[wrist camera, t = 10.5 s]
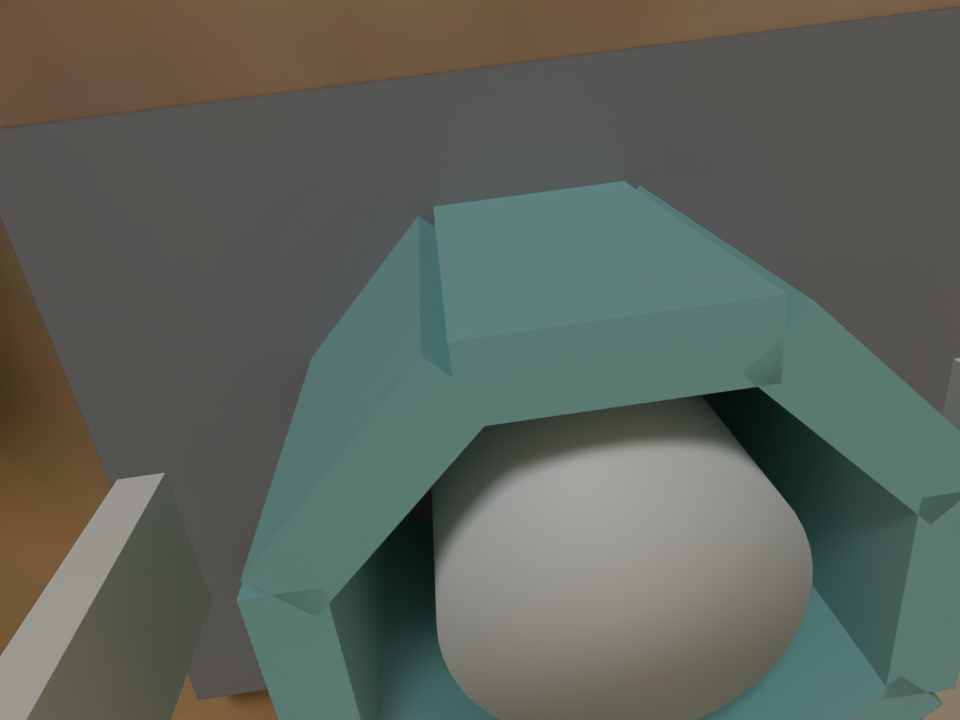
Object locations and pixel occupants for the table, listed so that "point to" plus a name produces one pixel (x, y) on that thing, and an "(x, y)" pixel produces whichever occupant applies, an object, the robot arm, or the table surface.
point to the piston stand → (522, 444)
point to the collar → (586, 387)
